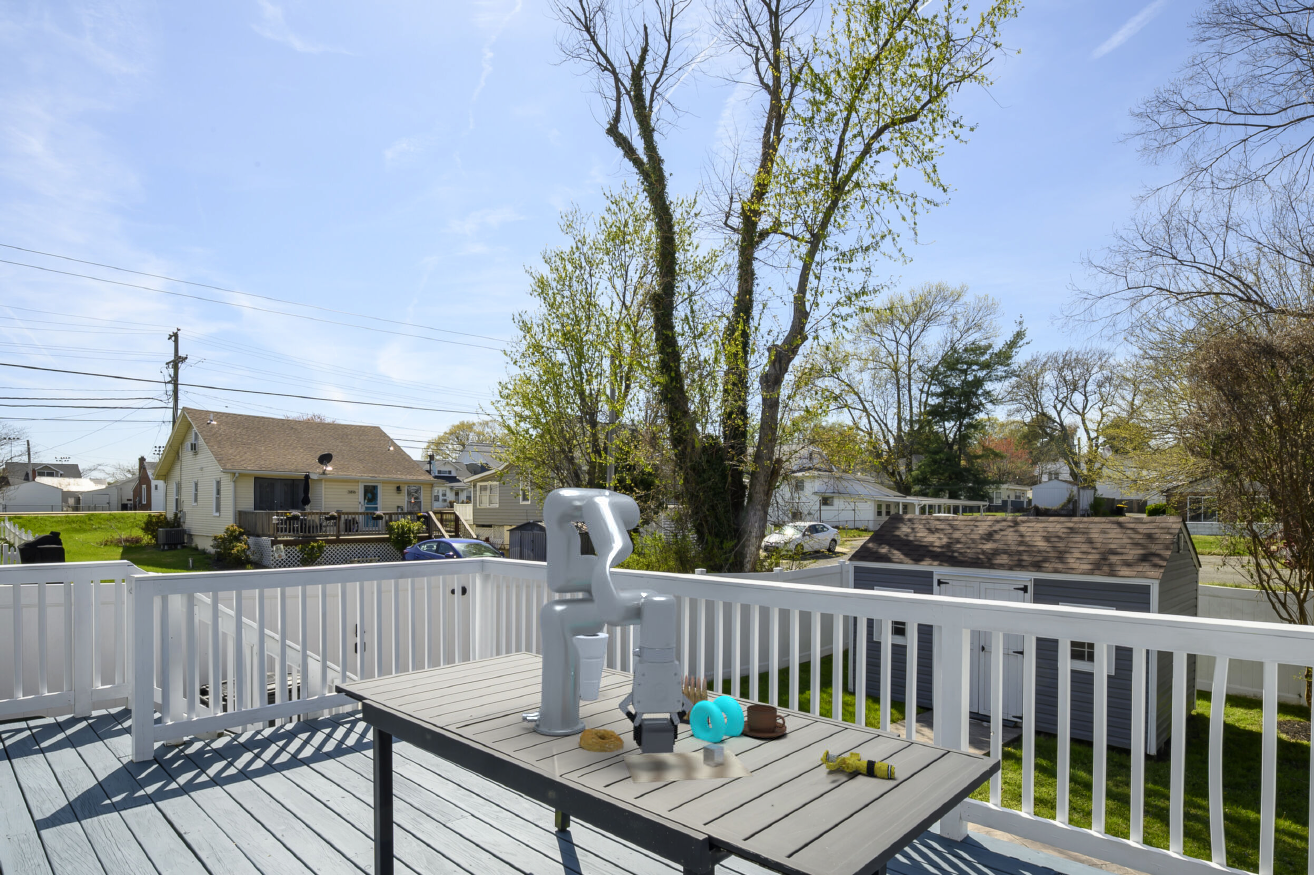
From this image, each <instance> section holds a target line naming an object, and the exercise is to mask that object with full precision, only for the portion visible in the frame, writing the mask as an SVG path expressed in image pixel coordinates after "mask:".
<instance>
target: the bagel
mask: <svg viewBox="0 0 1314 875" xmlns="http://www.w3.org/2000/svg"><path fill="white" fill-rule="evenodd" d="M624 743H625V742H624V740H623V738H622V737H621V736H619V735H618V734H617V732H615V731H614V730H610V729H607V728H603V729H602V728H601V729H599V728H585V729H584V730H583V731H582V732H581V734H580V735H579V742H578V744H579V747H580V748H582V750H586V751H588V752H592V753H614V752H618V751H621V750H623V749H624Z"/></svg>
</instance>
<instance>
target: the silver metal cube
mask: <svg viewBox="0 0 1314 875" xmlns="http://www.w3.org/2000/svg"><path fill="white" fill-rule="evenodd" d="M724 748H725V747H724V746H723V745H720V744H718V743H713V742H711V743H708V744H707V745H704V746H703V750H702V752H703V764H705V765H708V766H712V767H717V766H720V765H722V764H724V751H725V749H724Z"/></svg>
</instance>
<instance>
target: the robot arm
mask: <svg viewBox="0 0 1314 875" xmlns="http://www.w3.org/2000/svg"><path fill="white" fill-rule="evenodd" d="M542 511H543V512H542V514H543V516H542V517H543V522H544V527H545V532H546V539H547V540H546V541H547V542H546V543H547V544H546V583H547V587H548V589H549V590H550V592H552V593H556V594H574V593H576V594H577V593H582V597H571V598H568V597H567V598H559V599H557V598H556V599H553V600H549V601H547V602H546V603H545V604H544V605H543V606H542V607H541V608H540V611H539V617H538V618H539V627H540V633H541V635H540V636H541V647H542V655H541V656H542V658H541V659H542V662H541V663H542V664H541V666H542V668H541V698H540V699H541V700H540V707H539V709H538V710H536V711H534V712H522V714H521V715H522V716H521V718H522V720H521V721H522V722H526V723H534V725H533V728H534V731H535V732H536V733H538V734H540V735H541V734H542V735H545V736H555V737H556V736H557V737H559V736H560V737H561V736H571V735H576V734H578V733H582V732H583V731H584V730H586V722H585V721H584V720H582V719H580V700H581V695H580V653H579V650H578V648H577V646H576V645H575V643H574V641H573V637H576V636H584V635H593V634H597V633H602V631H603V630H604V628H605V626H606V625H608V626H610V627H613V628H615V627H616V628H617V627H628V626H635V625H636V626H639V627H640V628H639V629H640V630H639V632H640V633H639V645H638V646H637V648H636V649H634V648H633V649H632V656H633V657H638V658H639V659H637V660H636V661H635V665H634V670H633V678H632V685H631V686H632V687H631V692H629V693H628V694H627V696H626V697H624V699H622V700H621V701H620V702H619V703H618V705H617V706H618V709H619V710H620V712H622V713H623V714H624V715H625V716H626V718H627V719H628V720H629V721H630V722H631V723H632V724H633V728H632V729H633V731H632V740H633V741H635V743H636V746H637V747H639V746H641V730H642V727H641V725H640V721H641V719H642V718H644V717H643V716H644V715H646V714H647V715H648V714H649V715H650V714H669V717H670V716H671V721H670V722H671V723H672V725H673V726H674V746H676V740H678V735H679V733H678V732H679V729H678V728H679V724H681V723H680V721H681V720H682V719H683V718H684V717H685V716H686V714H687V713H688V712H689V711H690V710H691V709H692V707H693V703H692V702H691V701H690V700H689V699H688V698H687V697H686V696H685V695H684V694H683V693H682V683H681V676H682V673H681V672H682V671H681V666H680V662H679V661H678V660H676V650H677V649H676V646H677V645H676V644H677V643H676V642H677V609H678V608H677V607H678V606H677V604H678V603H677V599H676V598H675V597H674V596H673V595H671V594H668V593H667V594H666V593H660V592H657V591H656V590H653V589H650V588H646V589H645V588H643V589H640V588H639V589H624V590H622V589H621V590H616V588H615V586H614V583H613V580H612V578H611V572H610V571H611V569H612V568H613V567H615V566H618V565H619V564H621V563H623V562H624V561H626V560H627V559H628V558H629V557H630V556H631V555H632V552H633V550H634V545H633V542H632V541H631V537H630V535H629V534H628V531H629V530H633V529H635V528H636V527H637V525H638V524H639V523H640V522H639V521H640V519H641V518H640V516H641V511H640V507H639V505H638V504H637V502H636V501H635V499H634V498H633V497H632V496H630V495H627V494H624V493H619V492H617V491H612V490H609V489H605V488H603V489H602V488H587V487H586V488H584V487H562V488H561V487H560V488H557V489H554V490H552V491H551V492H549V494H548V495H547V496H546V497H545V500H544V504H543V508H542ZM573 522H582V523H583V522H584V525H585V528H586V530H587V533H588V536H589V538H590V540H591V543H592V544H591V545H592V546H593V548H594V552H595V554H596V555H593V554H581V542H582V541H581V536H580V534H579V532H578V530H577V528H576V527H575V526H576V525H575V524H573ZM682 702H683V703H684V706H683V708H682ZM630 704H631V705H632V708H633V709H634V713H633V712H632V711H631V710H630V709H629V706H630ZM676 712H677V713H676Z"/></svg>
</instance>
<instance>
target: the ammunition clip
mask: <svg viewBox="0 0 1314 875" xmlns="http://www.w3.org/2000/svg"><path fill="white" fill-rule="evenodd" d="M689 681H690V682H689ZM681 683H682V693H683V694H684V695H685V696H686V697H687V698H688V699H689V700H690V701H691V702H692V703H693V707H694V706H695V704H697V703H698V702H700V701H704V700H705V701H709V699H708V698H709V696H708V684H707V679H706V677H705V676H704V677H703V679H702V682H701V678H700V676H697V678H696V684H695V677H694V676H693V675H692V676H691V678H690V680H689V677H688V675H687V674H686V675H685V678H684V681H683V676H682V675H681ZM701 684H702V686H701ZM683 706H684V703H683V702H682V708H683ZM693 707H692V709H693ZM692 709H691V710H690V711H689V712H688V713H687V714H686V716H685V717H684V718H683V719H682V720H681V721H680V723H679V724H683V725H689V726H690V714H691V711H692ZM676 713H677V712H676ZM669 720H670V721H671V716H670V715H669ZM707 723H708V725H709V726H710V718H709V717H708V718H707Z"/></svg>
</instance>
